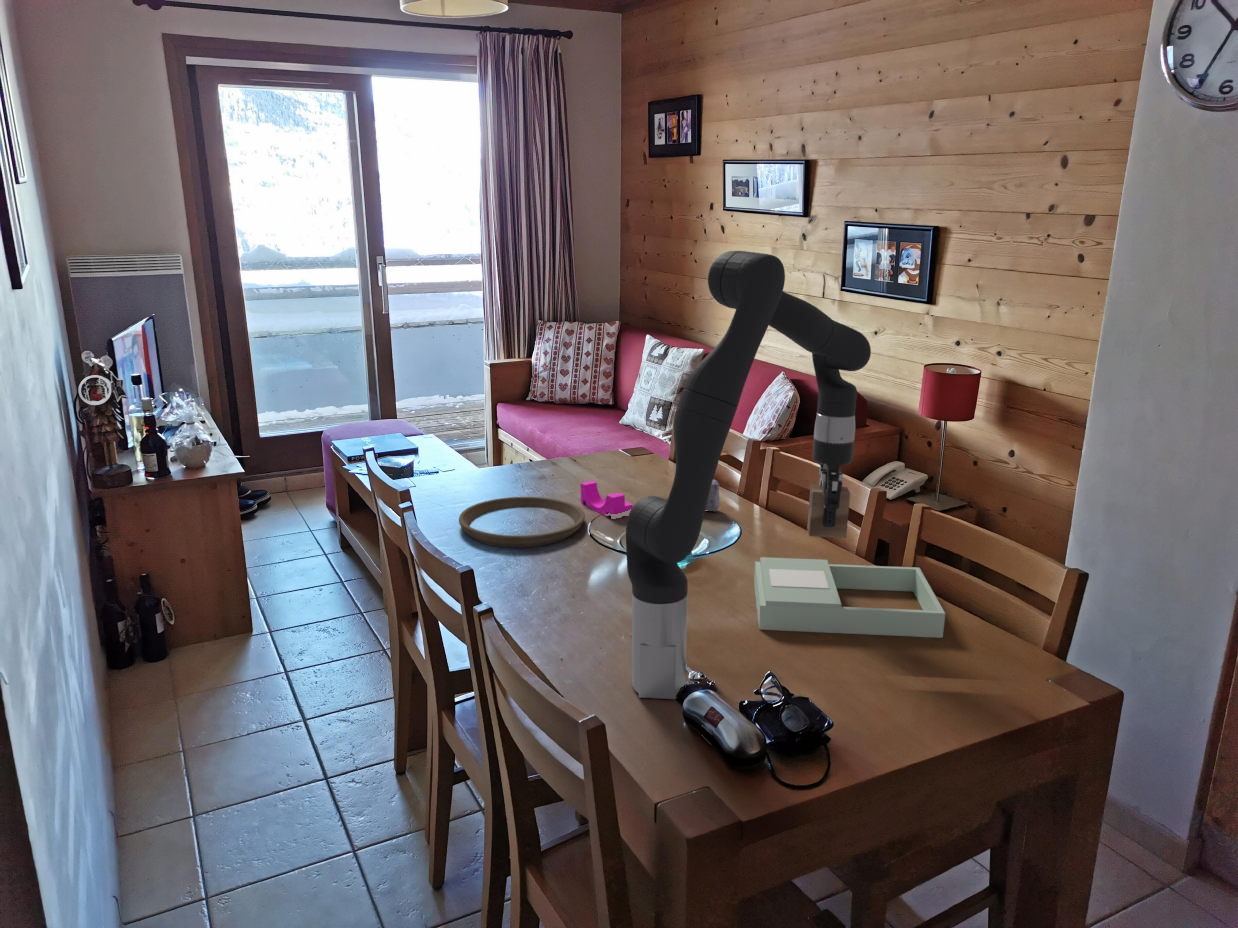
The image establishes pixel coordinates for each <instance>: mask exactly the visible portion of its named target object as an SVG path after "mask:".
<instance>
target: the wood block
mask: <svg viewBox="0 0 1238 928" xmlns="http://www.w3.org/2000/svg"><path fill="white" fill-rule="evenodd" d="M809 486H810V488H809V489H810V490H809V501H808V512H807V513H808V514H807V528H806V529H807V533H808V536H809V537H817V538H819V537H820V538H837V539H847V531H848V523H849V522H848V521H849V511H850V499H851V492H850V491H849V488H848V486H842V487H841V495H840V502H839V508H837V509H836V517H835V526H834V527H824V526H823V515H824V506H823V504H824V496H823V495H822V486H820V485H818V484H817V485H816V484H811V485H809ZM826 491H827V490H826ZM834 501H835V498H830V499H829V502H834Z"/></svg>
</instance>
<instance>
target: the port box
mask: <svg viewBox="0 0 1238 928" xmlns="http://www.w3.org/2000/svg"><path fill="white" fill-rule="evenodd" d="M754 561H755V560H754ZM753 582H754V583H753V584H754V592H755V603H756V604H755V605H756V611H757V613H756V614H757V621H758V623H757V624H758V630H765V631H784V632H786V631H787V632H804V633H805V632H806V633H829V634H830V633H831V634H851V635H853V634H854V635H869V636H870V635H872V636H873V635H874V636H891V637H892V636H896V637H897V636H898V637H915V638H917V637H918V638H939V639H941V638H943V636H944V629H945V621H946V620H945V618H946V612H945V610H944V609H943V607H942V605H941V603H940V602H939V600H938V598H937V596H936V594H935V593H934V591H933V588H932V587H931V585H930V584H929V583H928V580H927V579H926V577H925V575H924V573H923V572H922V570H921V568H920V567H915V566H914V567H911V566H910V567H909V566H888V565H886V566H883V565H881V566H880V565H858V564H857V565H855V564H830V563H829V562H828V559H817V558H816V559H815V558H814V559H811V558H791V557H790V558H789V557H768V556H767V557H764V556H760V558H759V561H758V560H757V561H755V562H754V578H753ZM838 589H839V590H841V589H842V590H843V589H844V590H869V591H871V590H872V591H894V592H912V593H914V596H915V598H916V600H917V601H918V603H919V605H920V607H921V609H905V608H902V609H901V608H882V607H881V608H878V607H856V606H851V607H850V606H842V602H841V601H842V600H841V598H840V595H839V592H838Z"/></svg>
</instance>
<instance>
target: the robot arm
mask: <svg viewBox="0 0 1238 928" xmlns="http://www.w3.org/2000/svg"><path fill="white" fill-rule="evenodd" d="M785 282H786V273H785V268H784V263H783V262H782V260H781V259H780V258H779V257H777V256H776V255H773V254H770V253H761V252H753V251H752V252H751V251H745V250H729V251H725V252H723V253H721V254H719V255H718V256H717V257H715V259H714V261H713V262H712V263H711V266H710V267H709V271H708V275H707V286H708V290H709V292H710V294H711V296H712V298H713V299H714V300H715V301H716V302H717V303H718V304H720V305H722V306H724V307H726V308H729V309H734V310H735V311H734V314H733V316H732V319H731V322H730V325H729V326H728V328H727V330H726V332H725V334H724V336H722V338H721V340H720V341H719V343H718V344H716V346H715V347H714V348H713V349H712V350H711V351H710V352H709V353H708V354H706V356H705V357H704V358H703V359H702V360H701V361H700V362H699V363H698V364H697V365H696V367H694V369H693V370H692V371H691V373H689V375H688V376H687V379H686V380H685V384H684V386H683V389H682V391H681V395H680V397H679V400H678V402H677V406H676V410H675V413H674V417H673V441H674V443H673V445H674V452H675V471H674V472H675V473H674V477H673V481H672V485H671V488H670V492H669V494H668V498H667V499H666V498H663V497H661V496H655V495H649V496H648V495H647V496H646V497H645V496H644V497H642V498H640V499H639V500H638V501H637V502H635V504H633V508H632V509H631V511H630V513H629V516H628V517H627V520H626V527H625V548H626V549H625V550H626V569H627V575H628V578H629V580H630V583H631V588H632V589H631V592H632V593H631V595H632V596H631V598H632V600H631V603H632V604H631V610H632V611H631V686H632V689H633V690H634V691H635V692H636V693H638V698H642V699H643V698H645V699H662V700H663V699H664V700H665V699H666V700H676V699H677V696H678V695H677V693H678V692H679V690H680V688H681V687H683V686H684V685H685V686H686V677H687V676H686V675H687V673H686V672H687V669H686V668H687V633H688V632H687V627H688V591H689V590H688V588H689V585H688V578H687V575H685V573H684V571H683V570H682V569H681V567H680V565H679V564H678V563H681V562H682V561H684V560H685V559H686V558H687V557H689V555H690V554H691V553H692V551H693V550H694V549H695V546H696V544H697V542H698V539H699V537H700V533H701V530H702V525H703V522H704V517H705V513H706V512H705V509H706V505H707V501H708V497H709V492H710V488H711V485H712V481H713V480H714V478H715V474H716V471H717V468H718V464H719V461H720V458H721V456H722V451H723V448H724V447H725V444H726V443H725V442H726V440H727V437H728V435H729V432H730V430H731V427H732V423H733V422H734V418H735V415H736V413H737V409H738V406H739V404H740V400H741V396H742V394H743V390H744V388H745V385H746V382H747V379H748V377H749V373H750V371H751V368H752V365H753V363H754V360H755V358H756V355H757V353H758V350H759V348H760V346H761V343H762V341H763V338H764V336H765V335H766V332H767V330H768V328H769V327H770V328H773V329H774V330H776V331H777V332H779V333H780V334H782V335H784V336H785V337H787V338H788V339H789V340H790V341H792V342H794V343H795V344H797V345H798V346H799V347H801V348H802V349H803V350H805V351H807V352H809V353H811V358H812V364H813V370H814V374H815V380H816V385H817V390H818V393H817V395H818V396H817V407H816V408H817V409H816V418H815V422H814V431H813V442H812V456H811V457H812V460H814V461H815V462H816V463H818V464H819V465H820V466H819V485H820V486H822V495H823V496H824V504H823V506H824V515H823V526H824V527H834V526H835V517H836V509H837V508H839V502H840V495H841V487H843V478H844V477H843V476H844V474H843V472H842V469H841V468H840V467H841V466H844V465H849V464H851V463H852V462H853V460H854V459H853V458H854V447H855V446H854V445H855V437H856V436H855V435H856V409H857V407H856V406H857V396H858V390H857V387H856V385H854V384H853V383H850V382H849V381H847V380H845V379H844V378H843V377H842V375H841V371H845V372H858V371H860V370H861V369H863V368H865V366H866V365H867V364H868V362H869V361H870V358H871V354H872V350H871V345H870V342H869V340H868V339H867V337H866V336H865V335H864V334H863V333H862V332H860V331H858V330H856V329H854V328H853V327H850V326H847V325H846V324H844V323H841V322H838V321H836V320H834V319H832V318H831V317H830V316H829V315H827V314H826V313H825V312H823V311H822V310H820V309H819V308H818V307H817V306H815V305H814V304H812V303H810V302H808V301H806V300H803V299H801V298H799V297H797V296H795V295H793V294H790V293H788V292H786V291H783V290H784V287H785ZM840 370H841V371H840ZM826 490H827V491H826ZM830 498H835V501H834V502H829V499H830ZM676 695H677V696H676Z"/></svg>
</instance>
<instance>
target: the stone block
mask: <svg viewBox="0 0 1238 928" xmlns="http://www.w3.org/2000/svg"><path fill="white" fill-rule="evenodd" d="M720 499H721V498H720V484H719V482H718V481H717V480H716V479H713V481H712V485H711V488H710V492H709V497H708V501H707V505H706V509H705V510H708V511H710V512H711V511H713V512H714V513H715V512H718V509H719V507H720V502H721V501H720ZM713 512H712V513H713Z"/></svg>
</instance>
